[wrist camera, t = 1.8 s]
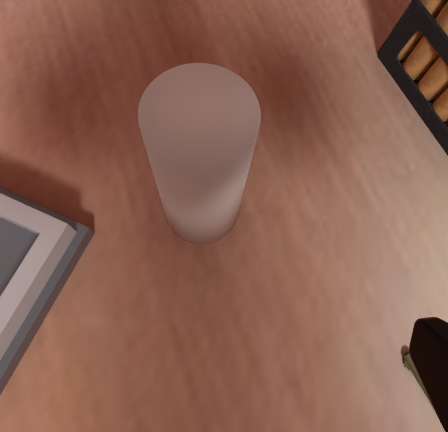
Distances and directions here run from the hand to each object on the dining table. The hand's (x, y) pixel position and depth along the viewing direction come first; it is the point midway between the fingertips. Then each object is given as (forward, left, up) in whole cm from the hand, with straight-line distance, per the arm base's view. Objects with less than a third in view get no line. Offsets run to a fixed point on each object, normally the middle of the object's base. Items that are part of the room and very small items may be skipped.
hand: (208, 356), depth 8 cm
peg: (+4, -7, -13) cm, 16 cm away
